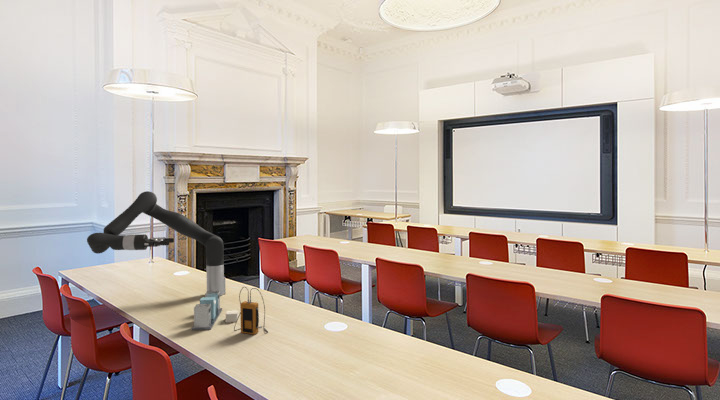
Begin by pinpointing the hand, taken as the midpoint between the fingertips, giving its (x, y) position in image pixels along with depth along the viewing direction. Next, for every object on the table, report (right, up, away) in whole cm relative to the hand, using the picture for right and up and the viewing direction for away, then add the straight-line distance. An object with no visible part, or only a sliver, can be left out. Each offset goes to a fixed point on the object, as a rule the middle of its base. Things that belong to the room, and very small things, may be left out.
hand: (171, 241), depth 194 cm
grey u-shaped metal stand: (+22, -35, -10) cm, 43 cm away
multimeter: (+47, -36, -23) cm, 64 cm away
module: (+22, -34, -11) cm, 42 cm away
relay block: (+34, -36, -11) cm, 50 cm away
